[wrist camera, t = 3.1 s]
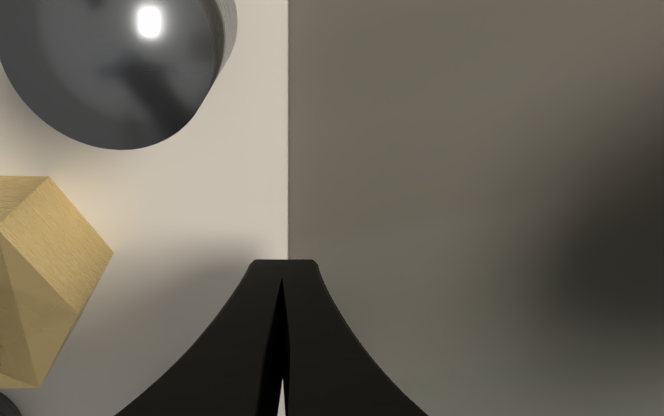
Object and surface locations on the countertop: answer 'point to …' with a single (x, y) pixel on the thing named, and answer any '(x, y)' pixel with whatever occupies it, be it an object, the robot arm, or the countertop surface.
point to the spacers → (114, 67)
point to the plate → (165, 220)
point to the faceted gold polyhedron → (42, 275)
